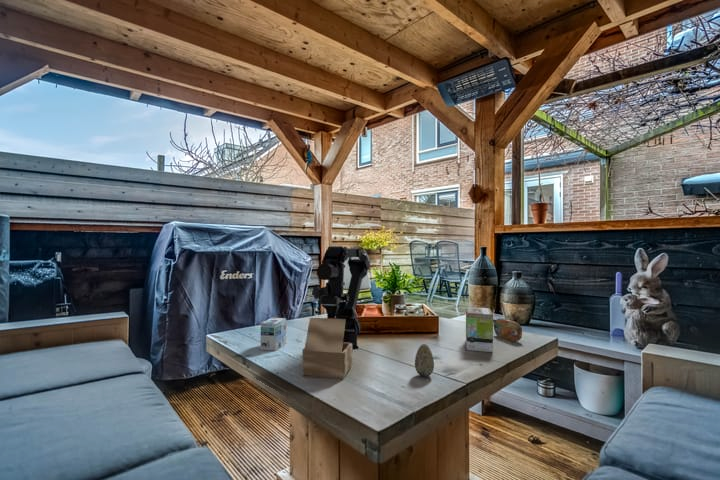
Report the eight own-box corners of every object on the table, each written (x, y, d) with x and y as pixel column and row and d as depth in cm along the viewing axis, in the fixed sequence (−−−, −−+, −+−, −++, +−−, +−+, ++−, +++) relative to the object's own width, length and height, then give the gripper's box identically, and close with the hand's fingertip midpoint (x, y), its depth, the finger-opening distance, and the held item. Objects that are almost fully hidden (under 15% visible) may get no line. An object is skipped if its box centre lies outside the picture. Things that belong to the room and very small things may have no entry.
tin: (493, 335, 158) (493, 316, 158) (499, 334, 159) (498, 316, 159) (517, 344, 144) (517, 323, 144) (523, 343, 145) (523, 323, 145)
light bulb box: (275, 351, 135) (275, 323, 135) (259, 350, 136) (259, 322, 136) (286, 343, 145) (286, 317, 145) (272, 342, 147) (272, 317, 147)
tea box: (494, 352, 132) (493, 313, 132) (466, 350, 135) (466, 312, 135) (490, 342, 147) (490, 307, 147) (465, 340, 149) (465, 306, 150)
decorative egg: (424, 381, 104) (424, 348, 104) (410, 375, 109) (410, 343, 109) (438, 377, 108) (438, 344, 108) (424, 371, 113) (423, 340, 113)
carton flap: (310, 318, 114) (310, 317, 114) (345, 319, 111) (345, 319, 111) (304, 350, 109) (304, 350, 108) (341, 352, 106) (341, 352, 106)
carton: (314, 363, 120) (314, 340, 120) (353, 366, 117) (353, 342, 117) (301, 376, 109) (301, 350, 109) (344, 379, 106) (344, 352, 106)
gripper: (322, 278, 139) (321, 318, 138) (306, 279, 121) (304, 324, 120) (349, 279, 137) (348, 319, 136) (337, 280, 119) (335, 326, 117)
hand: (334, 322), depth 127 cm, fingers open, 9 cm apart
